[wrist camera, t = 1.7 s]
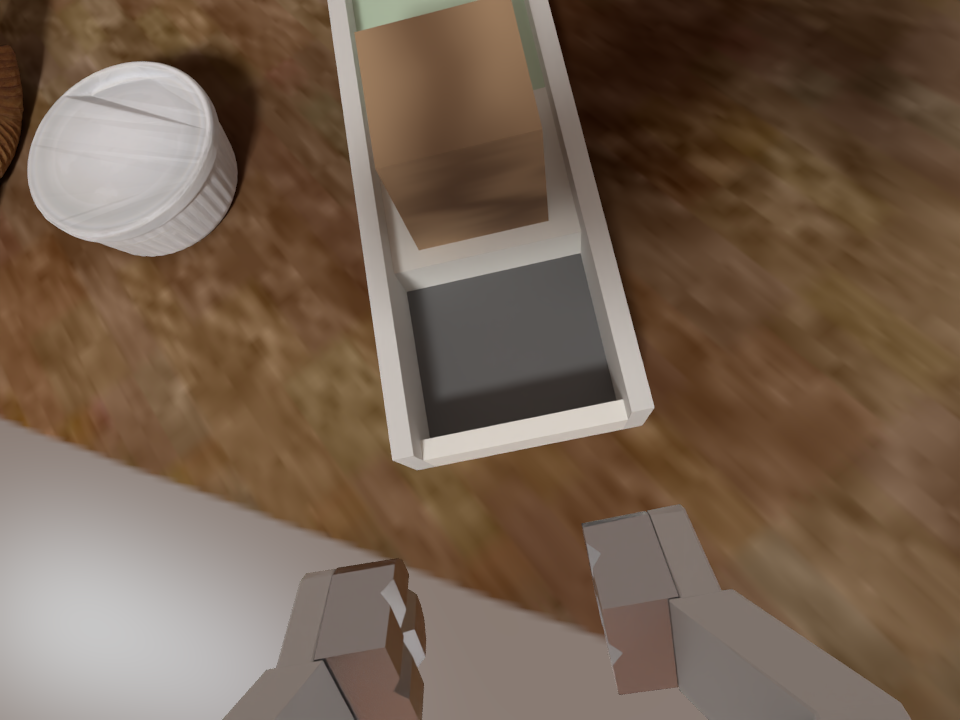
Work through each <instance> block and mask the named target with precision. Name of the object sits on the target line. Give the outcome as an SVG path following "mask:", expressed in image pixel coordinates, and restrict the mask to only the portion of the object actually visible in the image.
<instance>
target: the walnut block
mask: <svg viewBox="0 0 960 720" xmlns="http://www.w3.org/2000/svg"><path fill="white" fill-rule="evenodd" d="M354 34H355V40H356V47H357V53H358V60H359V66H360V73H361V79H362V86H363V92H364V99H365V105H366V112H367V119H368V125H369V132H370V138H371V145H372V151H373V158H374V164H375V170H376V171H377V173H378V175H379V177H380V179H381V181H382V183H383V184H384V186H385V188H386V190H387V192H388V194H389V196H390V197H391V199H392V201H393V203H394V205H395V207H396V209H397V211H398V212H399V214H400V216H401V218H402V220H403V222H404V224H405V225H406V227H407V229H408V231H409V233H410V235H411V237H412V238H413V240H414V242H415V244H416V246H417V248H418V250H423V249H427V248H432V247H436V246H440V245H445V244H449V243H454V242H458V241H462V240H467V239H471V238H475V237H480V236H484V235H489V234H493V233H497V232H502V231H506V230H511V229H515V228H519V227H524V226H528V225H533V224H537V223H541V222H546V221H549V219H548V204H547V189H546V174H545V160H544V145H543V130H542V125H541V121H540V117H539V113H538V109H537V104H536V100H535V96H534V92H533V88H532V84H531V80H530V75H529V71H528V67H527V63H526V59H525V55H524V51H523V46H522V42H521V38H520V34H519V30H518V26H517V22H516V17H515V13H514V9H513V5H512V1H511V0H478V1H474V2H470V3H466V4H462V5H458V6H454V7H451V8H447V9H443V10H439V11H435V12H431V13H427V14H423V15H420V16H416V17H412V18H408V19H404V20H400V21H396V22H392V23H389V24H385V25H381V26H377V27H373V28H369V29H365V30H362V31H358V32H354Z"/></svg>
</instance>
